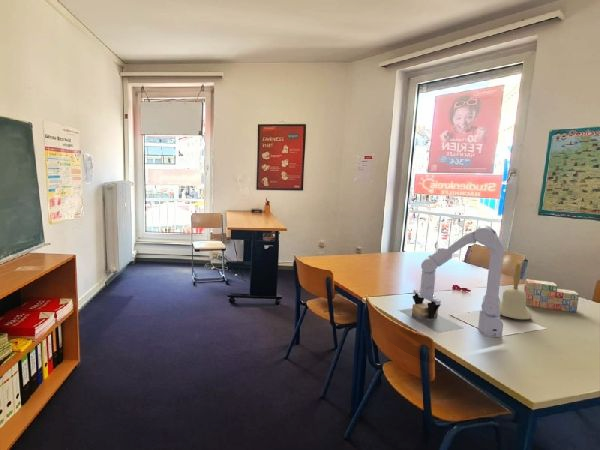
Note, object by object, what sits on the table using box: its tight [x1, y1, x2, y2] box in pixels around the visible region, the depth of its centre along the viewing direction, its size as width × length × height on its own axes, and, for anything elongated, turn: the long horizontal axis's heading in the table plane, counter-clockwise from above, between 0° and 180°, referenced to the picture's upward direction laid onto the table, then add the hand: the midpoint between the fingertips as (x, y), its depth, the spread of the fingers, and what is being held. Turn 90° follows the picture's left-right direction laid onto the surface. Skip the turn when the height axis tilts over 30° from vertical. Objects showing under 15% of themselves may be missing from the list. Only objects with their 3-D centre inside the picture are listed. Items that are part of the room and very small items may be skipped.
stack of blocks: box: [523, 278, 580, 313], centre depth 173 cm, size 21×6×12 cm, turn 67°
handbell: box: [499, 263, 533, 320], centre depth 158 cm, size 15×15×25 cm
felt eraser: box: [412, 301, 439, 320], centre depth 153 cm, size 10×5×5 cm, turn 113°
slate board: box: [398, 307, 464, 334], centre depth 150 cm, size 24×14×1 cm, turn 23°
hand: (424, 314), depth 153 cm, fingers open, 7 cm apart
